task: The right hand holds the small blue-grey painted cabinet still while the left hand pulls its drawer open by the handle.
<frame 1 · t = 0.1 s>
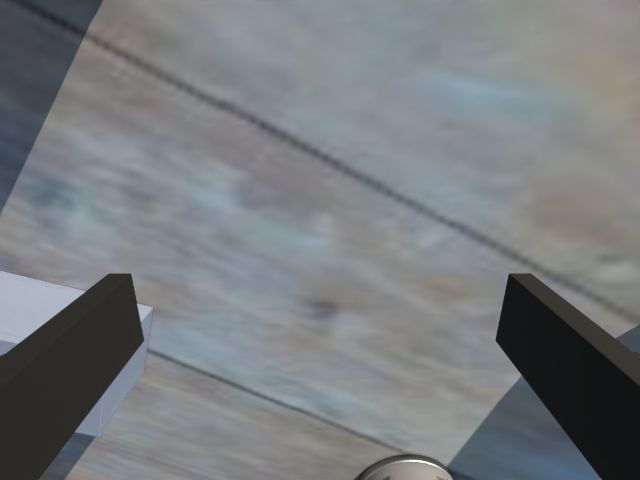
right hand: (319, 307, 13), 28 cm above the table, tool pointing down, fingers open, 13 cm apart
cabinet: (68, 321, 45), on the table
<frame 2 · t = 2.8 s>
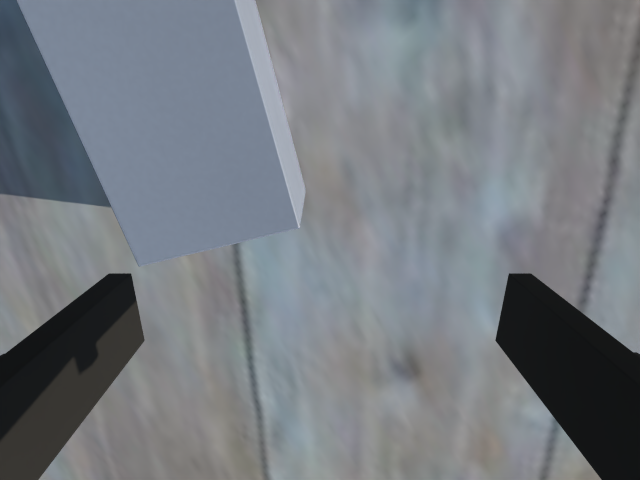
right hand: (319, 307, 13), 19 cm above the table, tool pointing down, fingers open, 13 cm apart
cabinet: (209, 80, 28), on the table
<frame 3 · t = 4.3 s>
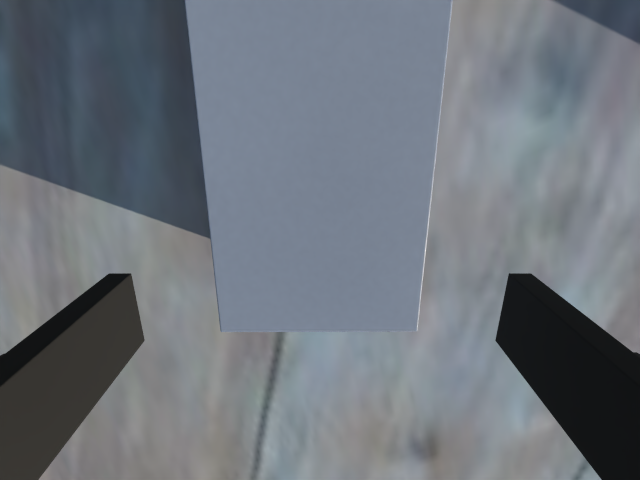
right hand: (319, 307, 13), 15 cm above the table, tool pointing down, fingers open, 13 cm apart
cabinet: (318, 119, 25), on the table
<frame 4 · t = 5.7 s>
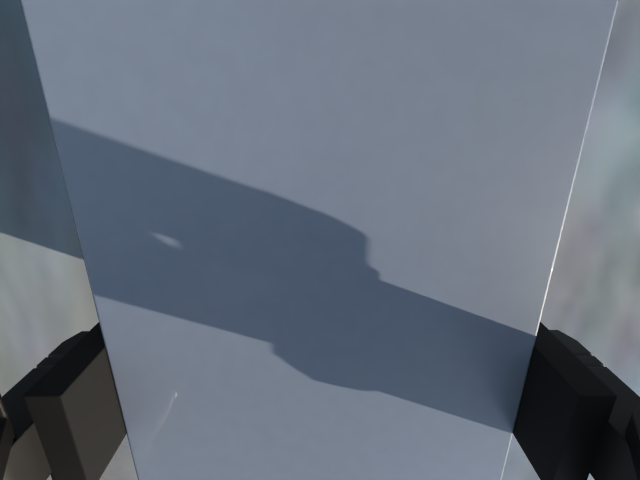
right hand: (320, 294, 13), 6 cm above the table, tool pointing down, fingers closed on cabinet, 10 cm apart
cabinet: (319, 117, 17), on the table, touching right hand
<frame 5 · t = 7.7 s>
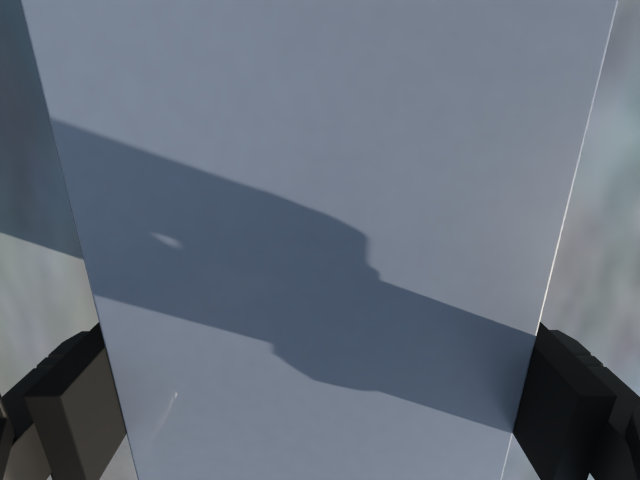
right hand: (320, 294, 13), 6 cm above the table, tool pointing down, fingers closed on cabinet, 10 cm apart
cabinet: (319, 117, 17), on the table, touching right hand
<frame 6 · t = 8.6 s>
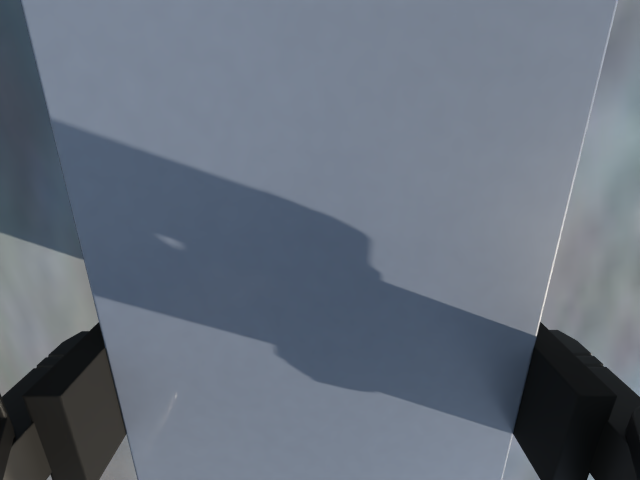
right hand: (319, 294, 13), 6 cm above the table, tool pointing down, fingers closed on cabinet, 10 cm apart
cabinet: (319, 117, 17), on the table, touching right hand
when the right hand's fingers open (6 cm above the table, at t = 10.6 s): cabinet stays where it is, on the table.
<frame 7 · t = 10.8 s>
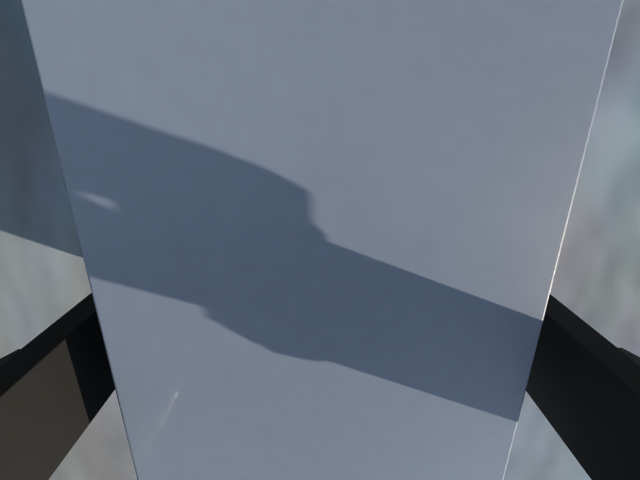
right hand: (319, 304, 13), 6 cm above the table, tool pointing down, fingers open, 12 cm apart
cabinet: (320, 115, 16), on the table
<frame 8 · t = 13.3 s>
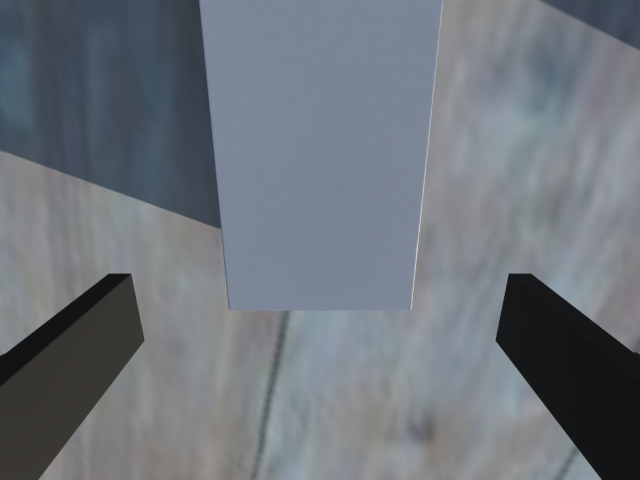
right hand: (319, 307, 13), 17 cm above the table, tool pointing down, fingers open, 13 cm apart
cabinet: (320, 113, 26), on the table
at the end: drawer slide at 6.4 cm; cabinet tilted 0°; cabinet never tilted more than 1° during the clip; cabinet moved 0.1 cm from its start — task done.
